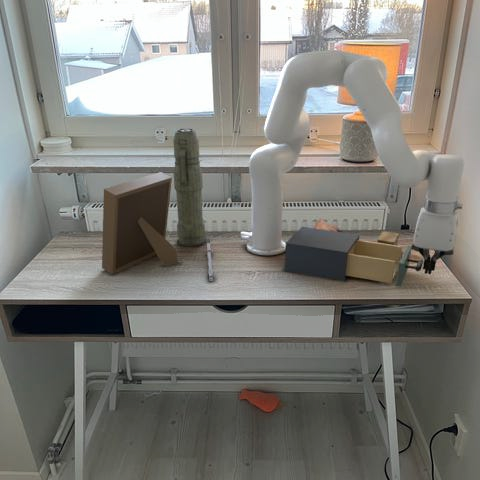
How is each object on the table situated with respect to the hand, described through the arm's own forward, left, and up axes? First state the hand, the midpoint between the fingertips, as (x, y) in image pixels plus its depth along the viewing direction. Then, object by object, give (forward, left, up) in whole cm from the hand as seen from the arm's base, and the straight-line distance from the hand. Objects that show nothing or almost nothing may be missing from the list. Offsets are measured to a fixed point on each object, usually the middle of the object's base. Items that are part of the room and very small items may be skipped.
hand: (428, 272), depth 141 cm
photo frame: (-78, -19, -4) cm, 80 cm away
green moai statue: (-75, +3, -4) cm, 75 cm away
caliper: (-60, -13, -4) cm, 61 cm away
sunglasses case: (-35, +23, -4) cm, 42 cm away
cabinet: (-30, 0, -4) cm, 30 cm away
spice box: (-14, +18, -4) cm, 23 cm away
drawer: (-12, 0, -3) cm, 12 cm away
